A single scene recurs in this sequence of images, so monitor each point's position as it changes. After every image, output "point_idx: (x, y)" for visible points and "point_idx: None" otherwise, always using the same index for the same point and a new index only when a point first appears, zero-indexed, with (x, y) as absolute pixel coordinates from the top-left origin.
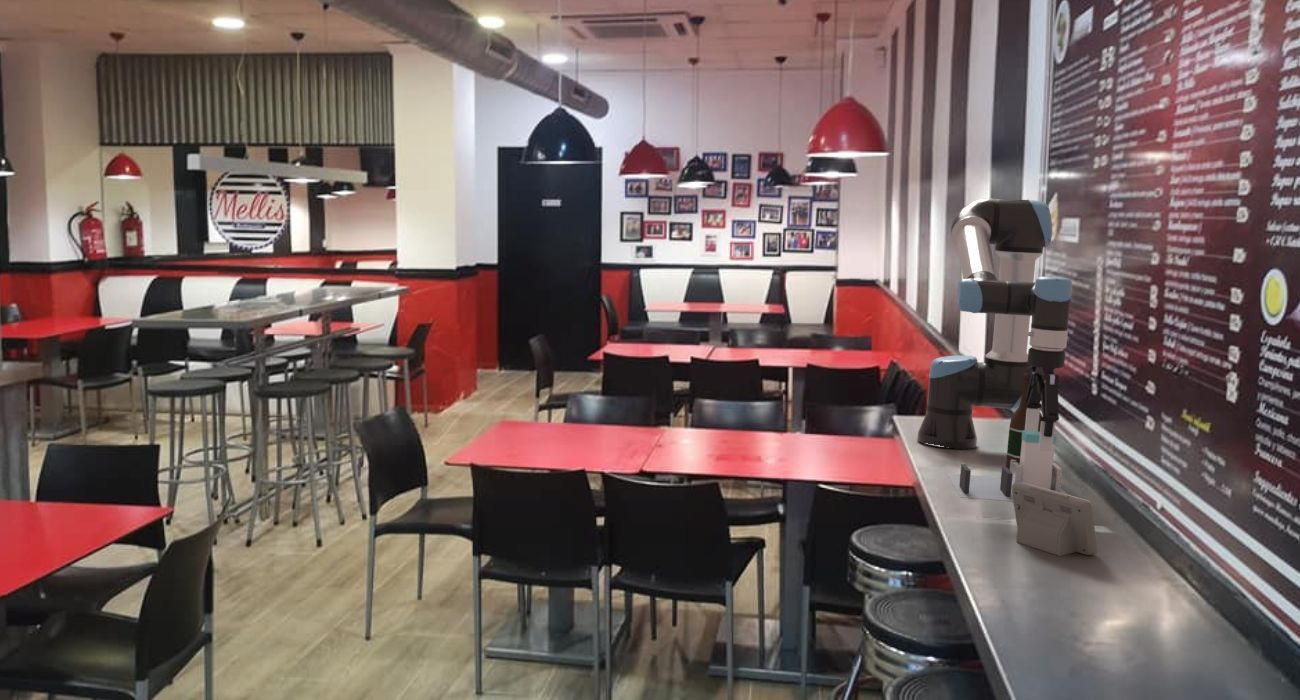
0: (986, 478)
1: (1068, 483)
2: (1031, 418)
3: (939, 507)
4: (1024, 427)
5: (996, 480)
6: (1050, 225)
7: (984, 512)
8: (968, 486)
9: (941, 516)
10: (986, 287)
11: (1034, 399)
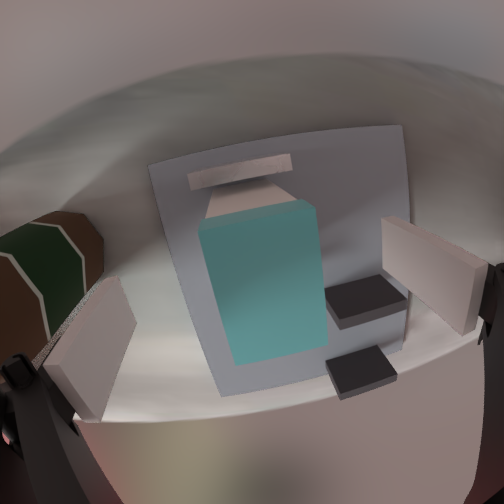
0: (220, 332)
1: (101, 130)
2: (101, 361)
3: (428, 358)
4: (35, 328)
5: None
6: None
7: None
8: (382, 354)
9: (462, 344)
10: None
11: (88, 461)
